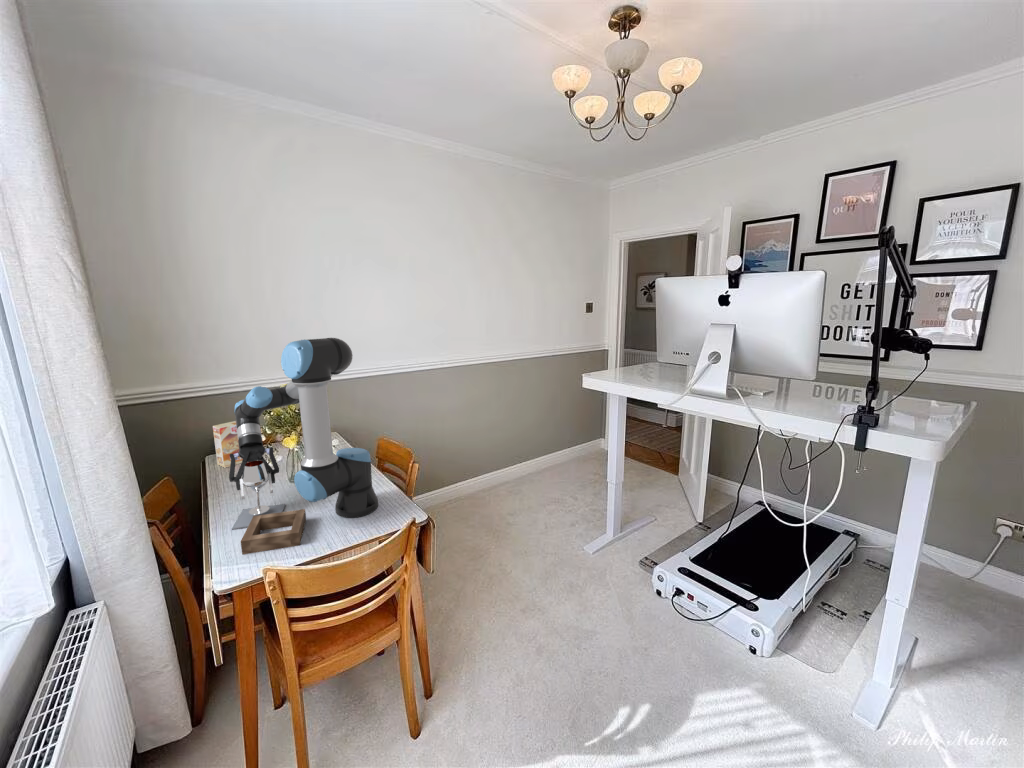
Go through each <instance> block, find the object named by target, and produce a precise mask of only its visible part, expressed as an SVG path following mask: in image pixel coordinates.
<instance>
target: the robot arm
mask: <svg viewBox="0 0 1024 768" xmlns="http://www.w3.org/2000/svg"><path fill="white" fill-rule="evenodd" d="M280 358H281V359H280V363H281V369H282V371H283V374H284V375H285V376H286V377H287V378H289V379H290V381H289V382H288V383H287V384H285V385H284V386H281V387H276V388H267V387H265V386H259V385H258V386H255V387H252V389H251V390H250V391H249V392H248V393H247V395H246V396H245V398H244V399H241V400H239V401H237V402H236V403H235V405H234V417H235V421H236V426H237V435H238V443H239V452H238V453H236V454H230V459H231V465H230V467H229V473H228V474H229V476H228V478H229V479H228V480H229V483H233V482H235V485H236V486H235V488H236V490H237V491H240V494H241V496H240V497H241V500H245V492H244V484H243V482H242V475H243V470H244V466H245V464H246V463H248V462H251V461H263V462H264V464H265V466H266V468H267V471H268V473H269V480H268V483H269V484H268V485H269V492H270V494H273V493H274V489H273V484H275V482H276V477H275V475H276V474H278V473H280V466H279V464H278V462H277V459H276V456H275V454H274V448H273V446H270V447H268V448H265V447H264V443H263V436H262V430H261V423H260V417H261V416H262V414H263V413H264V411H268V410H272V409H277V408H281V407H287V406H292V405H297V404H299V411H300V421H301V431H302V439H303V450H304V457H303V459H302V460H301V461H300V469H299V471H297V472H296V473H295V475H294V478H293V479H294V481H293V482H294V487H295V488H296V490H297V492H298V493H299V495H300V496H301V497H302V498H303V499H304V500H305V501H307V502H310V503H316V502H319V501H321V500H326V499H327V498H329V497H331V496H334V495H335V494H337V497H336V500H335V504H334V505H335V506H334V507H335V508H334V509H335V510H334V511H335V513H336V515H337V516H338V517H341V518H345V519H347V518H348V519H353V518H361V517H364V516H367V515H369V514H371V513H373V512H375V511H376V510H377V508H378V507H379V499H378V496H377V494H376V492H375V490H374V487H373V480H372V479H373V478H372V475H373V474H372V459H371V454H370V451H369V450H367V449H365V448H361V447H345V448H341V449H339V450H337V451H336V453H334V449H333V441H332V440H333V439H332V430H331V429H332V428H331V418H330V409H329V408H330V406H329V397H328V396H329V395H328V385H329V383H330V382H331V381H332V376H337V375H340V374H342V373H343V372H344V371H345V370H347V369H348V368H349V367H350V366H351V364H352V362H353V351H352V349H351V347H350V345H349V344H348V343H347V342H345V341H344V340H342V339H340V338H337V337H325V338H313V339H311V338H309V339H300V340H295V341H290V342H289V343H287V344H286V346H285V347H284V348H283V350H282V352H281V357H280ZM265 453H266V455H269V459H270V461H271V464H272V466H273V468H272V466H271V465H270V464H269V463H268V462H267V461H266V459H265V458H264V456H263V455H264V454H265ZM238 456H239V457H241V458H242V459H243V460H242V463H240V466H239V468H238V470H237V473H236V476H235V471H236V465H235V464H236V462H235V460H237V458H238Z"/></svg>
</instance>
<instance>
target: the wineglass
mask: <svg viewBox="0 0 1024 768" xmlns="http://www.w3.org/2000/svg"><path fill="white" fill-rule="evenodd" d="M241 479H242V482H243V487H245V488H247V489H249V490H251V491H254V492H255V496H256V504H257V506H255V507H251V508H252V509H251V510H250V511H249V514H251V515H258V514H262V513H265V512H267V511H268V510H269V507H268V506H269V505H261V501H260V500H261V499H260V491H261V489H263V488H264V487H265V486H266V485H267V484H268V483H269V473H268V471H267V468H266V466H265V464H264V462H263V461H251V462H248V463H246V464H245V466H244V470H243V475H242V477H241Z"/></svg>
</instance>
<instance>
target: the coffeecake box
mask: <svg viewBox="0 0 1024 768" xmlns="http://www.w3.org/2000/svg"><path fill="white" fill-rule="evenodd" d="M212 431H213V432H212V433H213V439H214V446H215V447H214V448H215V449H214V450H215V455H216V463H217V466H219V465H220V466H219V467H221V466H222V467H221V468H223V467H224V469H226V467H227V468H230V465H231V459H230V454H236V453H238V452H239V443H238V435H237V426H236V420H233V421H228V422H224V423H219V424H215V425H212ZM242 460H243V459H242V458H241V457H239V456H238V458H237V460H235V462H236V464H235V466H236V465H239V464H240V465H241V463H242Z"/></svg>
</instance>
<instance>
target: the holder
mask: <svg viewBox="0 0 1024 768" xmlns="http://www.w3.org/2000/svg"><path fill="white" fill-rule="evenodd" d="M306 524H307V515H306V508H301V509H296V510H295V509H294V510H288V511H283V512H280V513H273V514H265V515H258V516H253V518H252V520H251V522H250V524H249V526H248V528H246V530H245V531H244V534H243V536H242V538H241V539H240V547H241V549H240V550H241V555H247V554H249V555H250V554H255V553H260V552H261V553H262V552H267V551H272V550H273V551H274V550H279V549H280V550H281V549H285V548H290V547H298V546H300V545H301V543H302V539H303V534H304V532H305V528H306V527H305V526H306ZM289 527H291V529H288V530H282V531H275V532H267V533H261V532H262V531H267V530H275V529H283V528H289Z"/></svg>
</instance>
